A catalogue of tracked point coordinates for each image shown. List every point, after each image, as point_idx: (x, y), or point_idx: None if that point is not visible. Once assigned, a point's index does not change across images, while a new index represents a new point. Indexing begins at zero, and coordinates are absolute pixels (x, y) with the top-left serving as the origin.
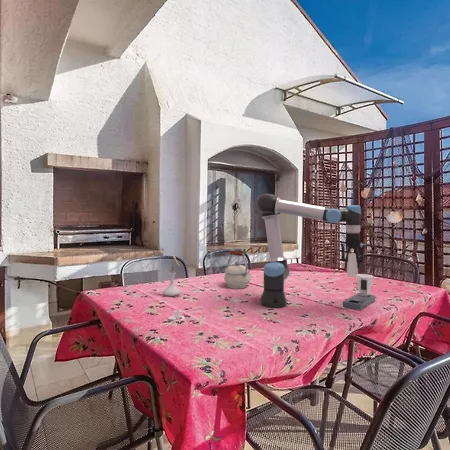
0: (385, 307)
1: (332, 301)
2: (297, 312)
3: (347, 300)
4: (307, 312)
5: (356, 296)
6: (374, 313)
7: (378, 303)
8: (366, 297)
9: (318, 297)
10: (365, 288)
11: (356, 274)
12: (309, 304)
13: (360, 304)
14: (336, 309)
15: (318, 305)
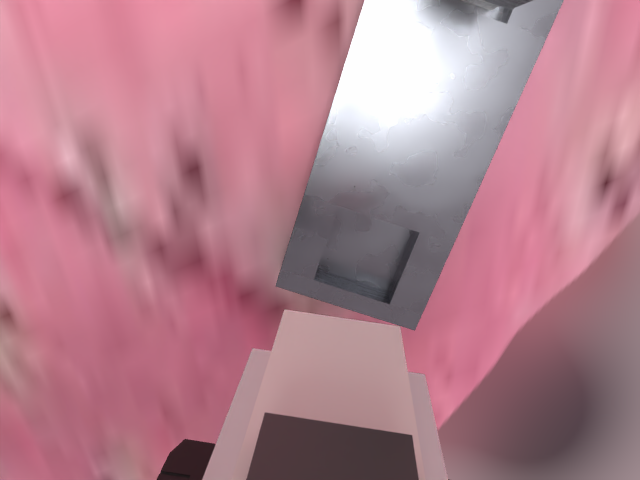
0: (625, 151)
1: (186, 142)
2: (58, 471)
3: (310, 238)
4: (106, 455)
5: (389, 44)
6: (500, 344)
7: (592, 29)
8: (490, 42)
9: (44, 51)
10: (510, 3)
11: (402, 342)
12: (57, 298)
13: (414, 318)
14: (250, 345)
15: (119, 298)
